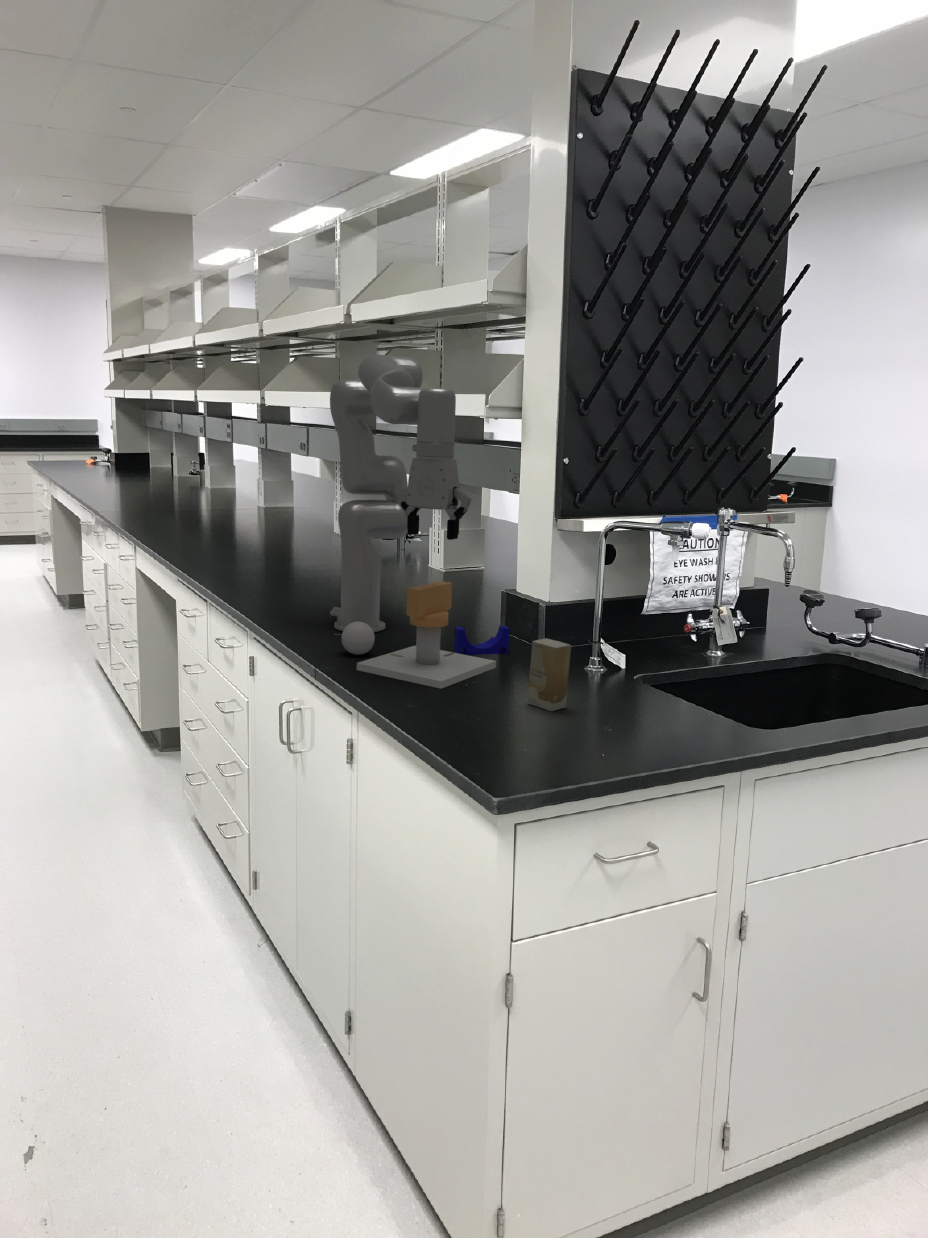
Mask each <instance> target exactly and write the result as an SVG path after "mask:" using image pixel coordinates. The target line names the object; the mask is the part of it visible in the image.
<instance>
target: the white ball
mask: <svg viewBox="0 0 928 1238" xmlns="http://www.w3.org/2000/svg"><path fill="white" fill-rule="evenodd" d="M335 635H337V636H341V638H340V639H341V644H342V647H343V648H344V649H345V650H346V651H347V652H348V653H350V654H352V655H355V656H361V655H364V654H366V653H368V652H369V651H370V650H372V648H373V647H374V644H375V639H376V638H375V632H373V630H372V628H371V627H370V626H369V625H368V624H366V623H364V622H353V623H351V624H349V625H348V626H346V627H345V629H344V631H342V632H341V634H340V633H339V634H338V633H335Z"/></svg>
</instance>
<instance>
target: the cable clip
mask: <svg viewBox="0 0 928 1238" xmlns="http://www.w3.org/2000/svg"><path fill="white" fill-rule="evenodd" d="M453 641H454V642H453V645H454V646H453V653H458V654H463V655H468V656H473V655H475V656H476V655H497V654H498V655H500V654H501V655H502V654H503V655H504V654H506V655H507V654H509V648H510V647H509V646H510V645H509V643H510V628H509V627H508V626H506V625H498V630H497V633H496V635H495V636H493V637H490V638H489V639H488V640H486V641H484V642H482V643H477V645H476V644H472V643H471V642H470V641H469V640H468V638H467V636H466V629H465V628H464V627H462V626H455V627H454V640H453Z"/></svg>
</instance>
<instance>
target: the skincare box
mask: <svg viewBox="0 0 928 1238" xmlns="http://www.w3.org/2000/svg"><path fill="white" fill-rule="evenodd" d="M571 652H572V645H571V644H569V643H566V642H562V641H559V640H554V639H550V638H547V637H546V638H542V639H540V638H539V639H537V640H532V642H531V653H530V654H531V655H530V664H529V665H530V666H529V675H528V676H529V679H528V690H527V691H528V692H527V704H528V705H531V706H535V707H538V708H540V709H542V710H546V711H549V712H554V711H557V710H561V709H565V708H566V706H567V698H568V697H567V695H568V685H569V675H570V666H571V665H570V662H571Z"/></svg>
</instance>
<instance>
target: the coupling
mask: <svg viewBox="0 0 928 1238" xmlns="http://www.w3.org/2000/svg"><path fill="white" fill-rule="evenodd" d="M452 596H453V582H448V581H441V580H438V581H436V582H435V581H434V582H431V583H425V584H420V585H416V586H412V587H411V586H410V587H407V588H406V612H405V613H406V616H409V624H410V625H412V626H415V627H417V626H419V627H429V628H434V627H441V628H443V627H447V626H448V625H449V613H450V612H449V610H451V609H452V598H453V597H452Z"/></svg>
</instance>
